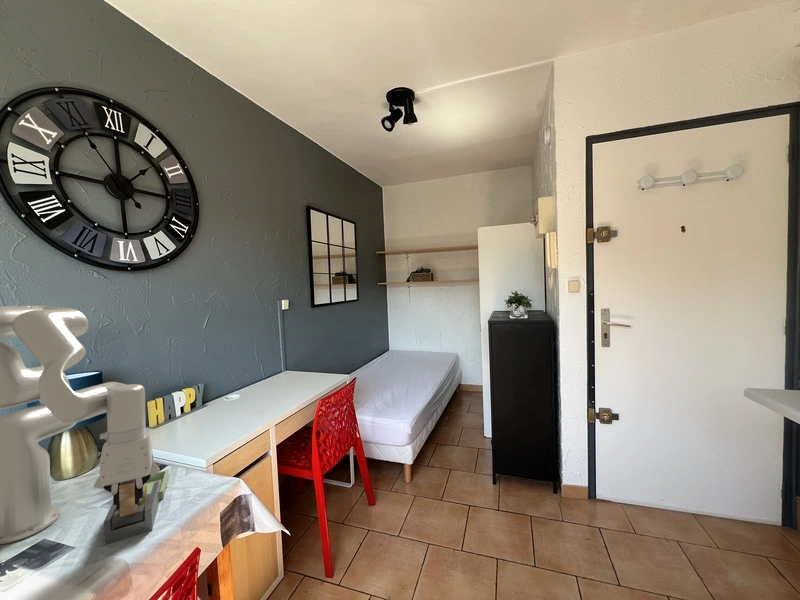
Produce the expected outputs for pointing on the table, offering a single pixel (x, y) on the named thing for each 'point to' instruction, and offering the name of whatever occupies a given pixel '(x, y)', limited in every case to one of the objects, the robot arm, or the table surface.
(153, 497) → the channel
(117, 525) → the t-shaped hammer
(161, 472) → the chip tray
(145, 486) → the yellow cube
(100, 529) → the table surface
